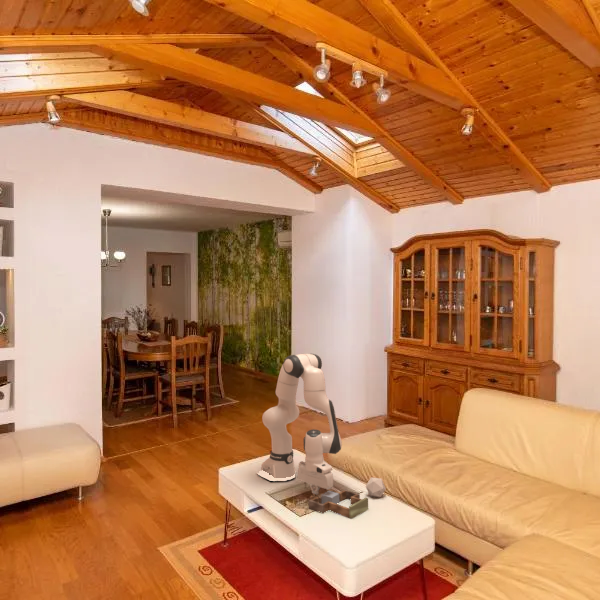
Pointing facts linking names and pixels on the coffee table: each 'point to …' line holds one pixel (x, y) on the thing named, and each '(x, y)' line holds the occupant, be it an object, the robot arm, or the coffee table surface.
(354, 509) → the box
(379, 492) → the die
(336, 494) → the block
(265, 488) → the coffee table surface
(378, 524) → the coffee table surface
